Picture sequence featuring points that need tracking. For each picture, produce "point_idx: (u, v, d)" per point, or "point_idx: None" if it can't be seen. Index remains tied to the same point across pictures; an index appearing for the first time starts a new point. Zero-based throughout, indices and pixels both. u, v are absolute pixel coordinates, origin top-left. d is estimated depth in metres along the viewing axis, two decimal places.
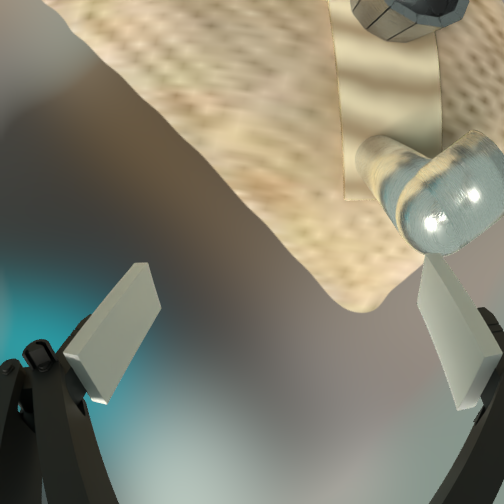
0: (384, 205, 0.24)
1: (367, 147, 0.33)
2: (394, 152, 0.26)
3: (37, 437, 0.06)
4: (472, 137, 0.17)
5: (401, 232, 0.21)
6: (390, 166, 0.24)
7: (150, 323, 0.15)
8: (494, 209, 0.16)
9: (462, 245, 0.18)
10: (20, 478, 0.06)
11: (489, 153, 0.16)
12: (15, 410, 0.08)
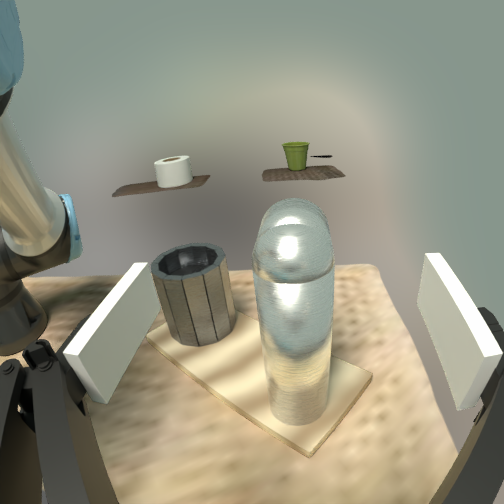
0: (278, 322, 0.24)
1: None
2: None
3: (37, 437, 0.06)
4: None
5: (282, 275, 0.22)
6: (258, 316, 0.27)
7: (150, 323, 0.15)
8: (301, 208, 0.27)
9: (317, 229, 0.24)
10: (20, 478, 0.06)
11: (267, 212, 0.29)
12: (15, 410, 0.08)
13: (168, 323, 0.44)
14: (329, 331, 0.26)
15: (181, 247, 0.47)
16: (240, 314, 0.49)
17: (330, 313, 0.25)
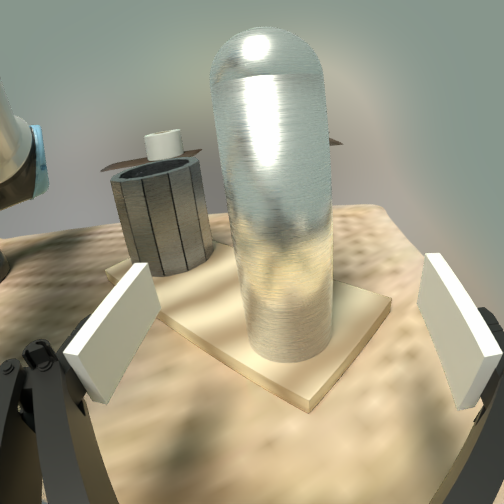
0: (245, 148, 0.16)
1: (242, 302, 0.23)
2: None
3: (37, 437, 0.06)
4: None
5: (245, 64, 0.14)
6: (221, 166, 0.19)
7: (150, 323, 0.15)
8: None
9: None
10: (20, 478, 0.06)
11: None
12: (15, 410, 0.08)
13: (129, 249, 0.35)
14: (327, 181, 0.17)
15: (150, 163, 0.38)
16: (219, 244, 0.40)
17: (325, 148, 0.17)
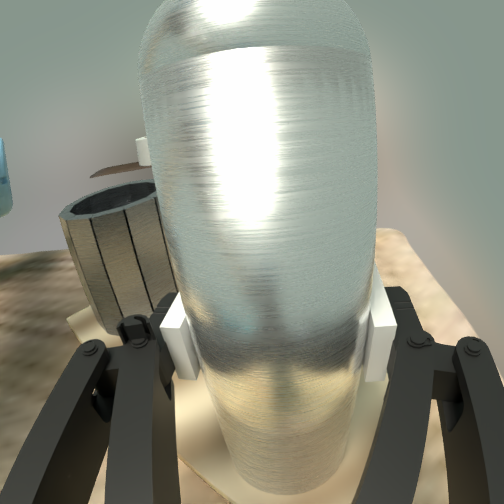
0: (201, 225, 0.07)
1: None
2: None
3: (113, 418, 0.07)
4: None
5: (198, 26, 0.05)
6: None
7: None
8: None
9: None
10: (74, 469, 0.07)
11: None
12: (88, 398, 0.08)
13: (88, 299, 0.27)
14: (369, 277, 0.09)
15: (115, 186, 0.29)
16: None
17: (373, 214, 0.08)
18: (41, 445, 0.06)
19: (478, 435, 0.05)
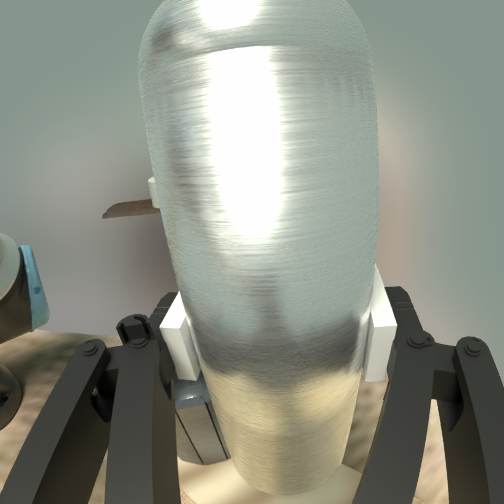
0: (201, 226, 0.07)
1: None
2: None
3: (113, 418, 0.07)
4: None
5: (198, 25, 0.05)
6: None
7: None
8: None
9: None
10: (74, 470, 0.07)
11: None
12: (88, 398, 0.08)
13: None
14: (370, 277, 0.09)
15: None
16: None
17: (374, 214, 0.08)
18: (41, 445, 0.06)
19: (478, 435, 0.05)
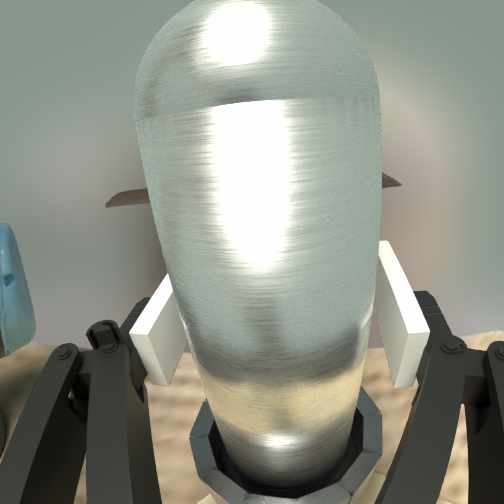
0: (204, 278, 0.07)
1: None
2: None
3: (88, 422, 0.07)
4: None
5: (196, 73, 0.05)
6: None
7: None
8: None
9: None
10: (57, 470, 0.07)
11: None
12: (64, 400, 0.08)
13: None
14: None
15: None
16: None
17: (375, 257, 0.08)
18: (23, 448, 0.06)
19: (503, 438, 0.05)
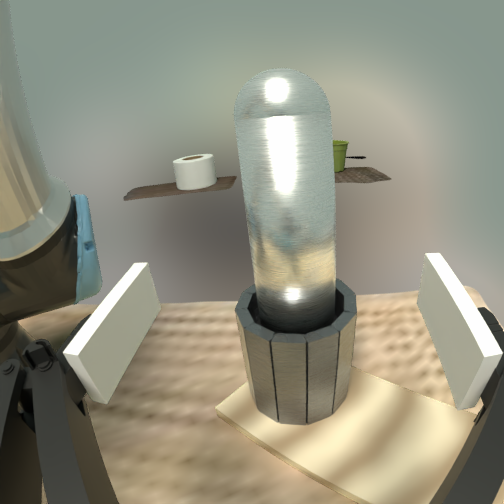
0: (265, 176, 0.19)
1: None
2: None
3: (37, 437, 0.06)
4: None
5: (267, 106, 0.17)
6: (243, 188, 0.22)
7: (150, 323, 0.15)
8: None
9: None
10: (20, 478, 0.06)
11: None
12: (15, 410, 0.08)
13: (258, 395, 0.28)
14: (332, 202, 0.21)
15: None
16: None
17: (331, 175, 0.20)
18: None
19: None
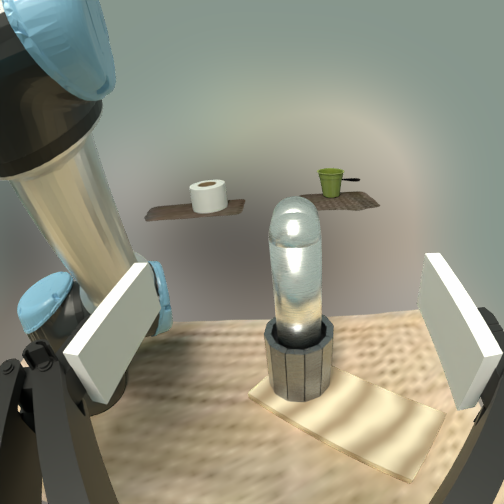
0: (286, 275, 0.39)
1: (277, 331, 0.46)
2: None
3: (37, 437, 0.06)
4: None
5: (288, 242, 0.37)
6: (272, 274, 0.42)
7: (150, 323, 0.15)
8: (299, 203, 0.41)
9: (309, 215, 0.38)
10: (20, 478, 0.06)
11: (277, 206, 0.43)
12: (15, 410, 0.08)
13: (276, 384, 0.47)
14: (319, 283, 0.40)
15: None
16: (331, 367, 0.52)
17: (319, 270, 0.40)
18: None
19: None
